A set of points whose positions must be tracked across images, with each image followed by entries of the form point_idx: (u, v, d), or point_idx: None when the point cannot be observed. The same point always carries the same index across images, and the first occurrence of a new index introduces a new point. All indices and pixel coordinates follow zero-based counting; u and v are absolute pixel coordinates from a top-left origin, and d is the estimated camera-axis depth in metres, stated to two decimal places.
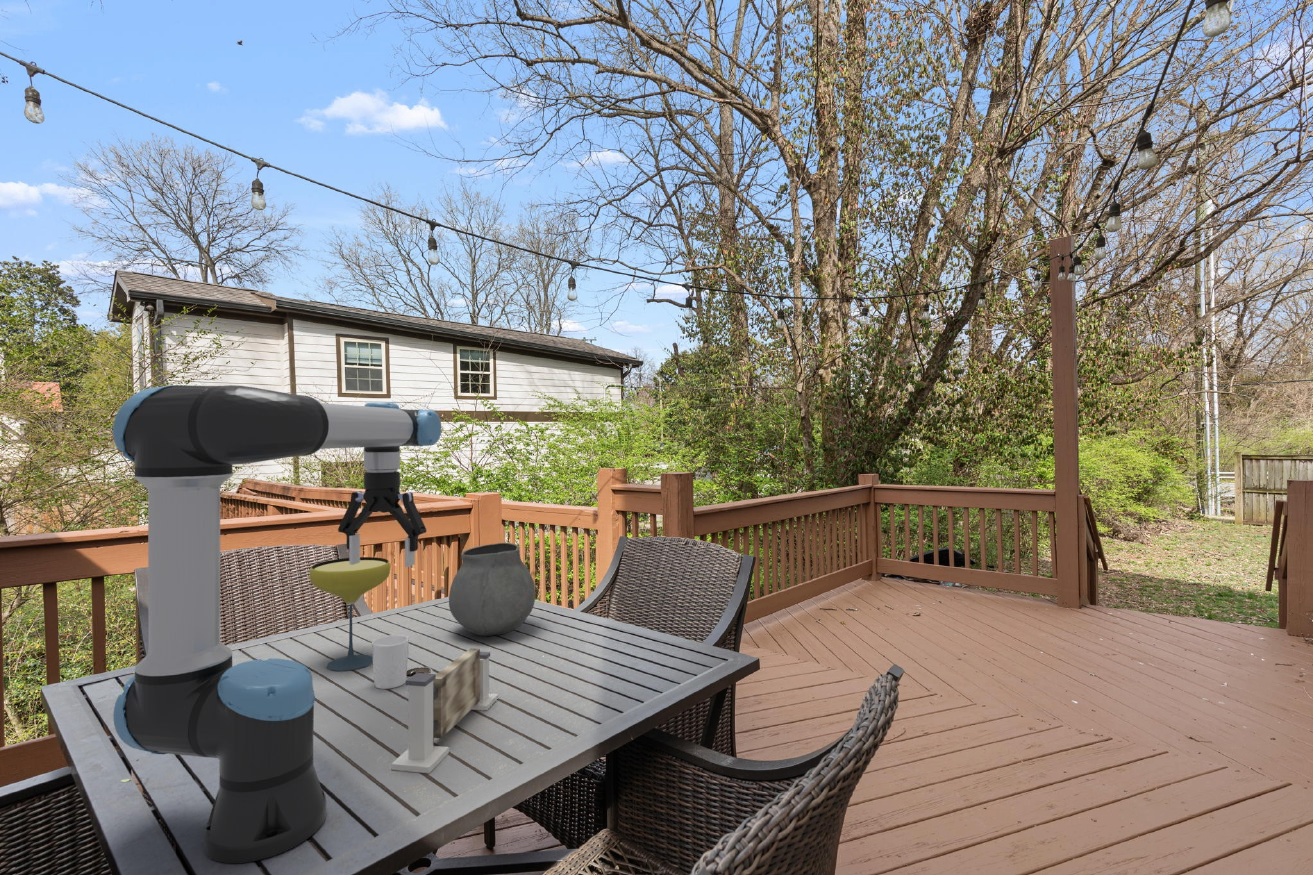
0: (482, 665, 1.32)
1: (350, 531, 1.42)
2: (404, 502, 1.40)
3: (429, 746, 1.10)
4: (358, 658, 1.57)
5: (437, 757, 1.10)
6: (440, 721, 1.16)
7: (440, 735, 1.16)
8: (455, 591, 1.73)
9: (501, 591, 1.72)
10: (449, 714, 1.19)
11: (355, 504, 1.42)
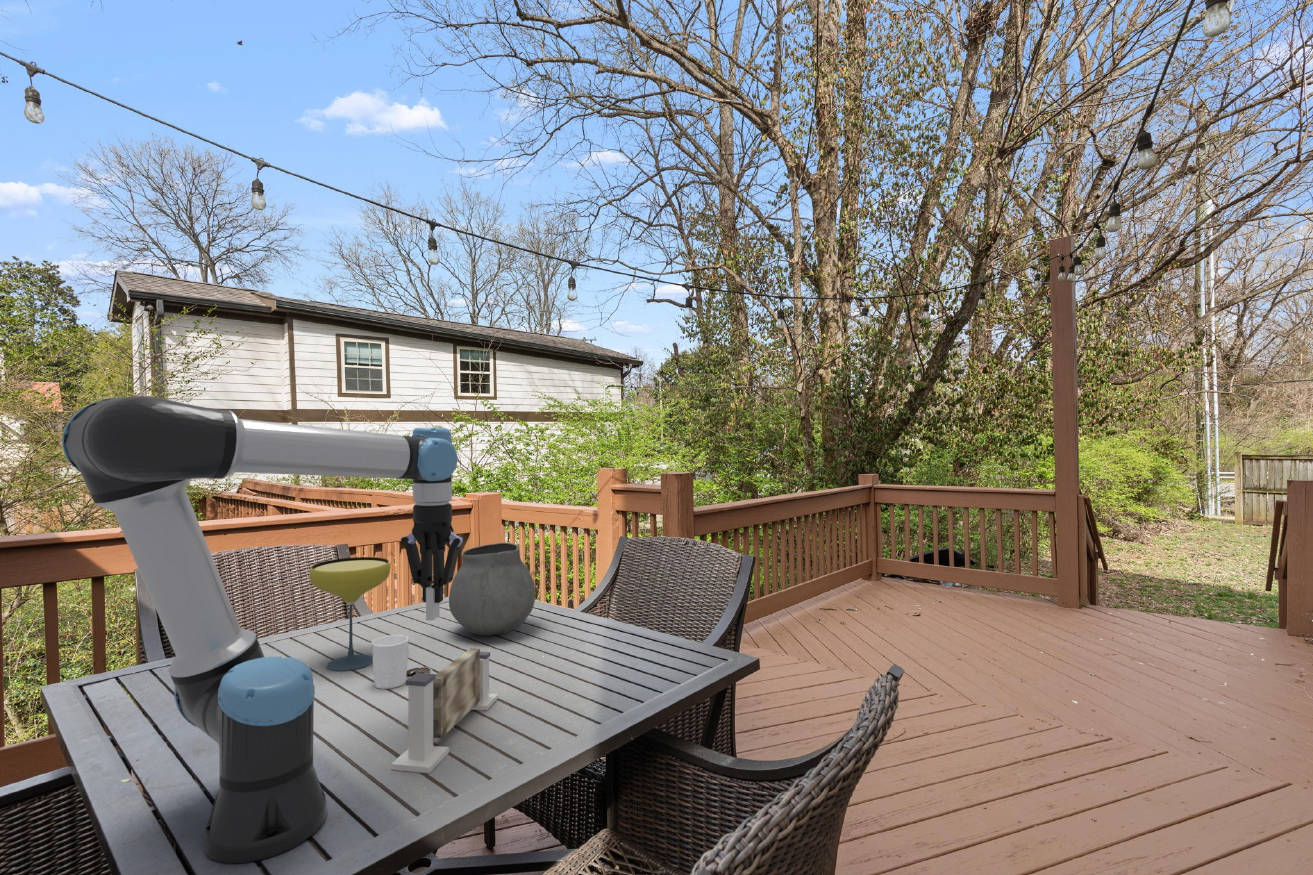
0: (482, 665, 1.32)
1: (425, 581, 1.27)
2: (451, 546, 1.26)
3: (429, 746, 1.10)
4: (358, 658, 1.57)
5: (437, 757, 1.10)
6: (440, 721, 1.16)
7: (440, 735, 1.16)
8: (455, 591, 1.73)
9: (501, 591, 1.72)
10: (449, 714, 1.19)
11: (411, 547, 1.28)
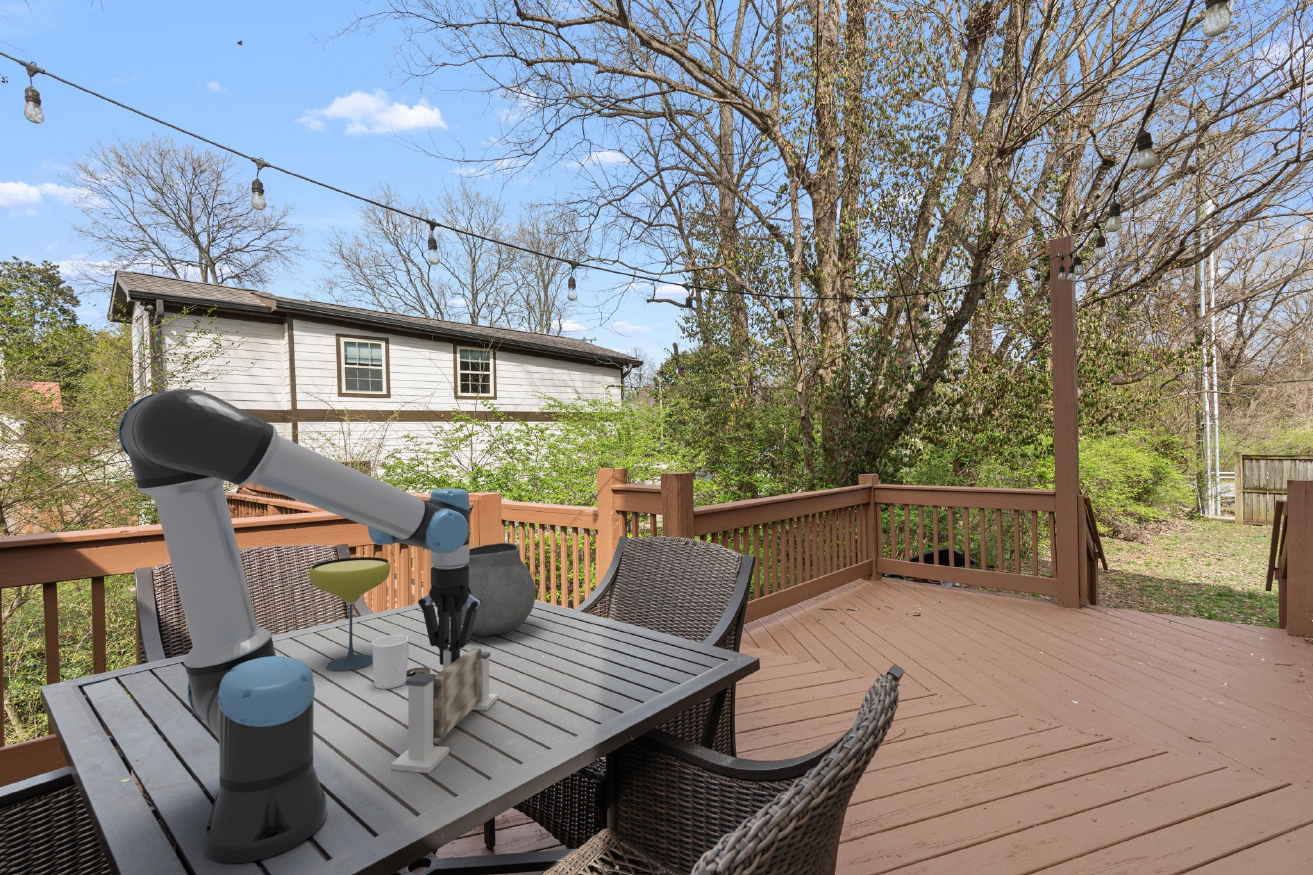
0: (482, 665, 1.32)
1: (442, 643, 1.26)
2: (469, 609, 1.26)
3: (429, 746, 1.10)
4: (358, 658, 1.57)
5: (437, 757, 1.10)
6: (440, 721, 1.16)
7: (440, 735, 1.16)
8: None
9: (501, 591, 1.72)
10: (449, 714, 1.19)
11: (428, 609, 1.27)
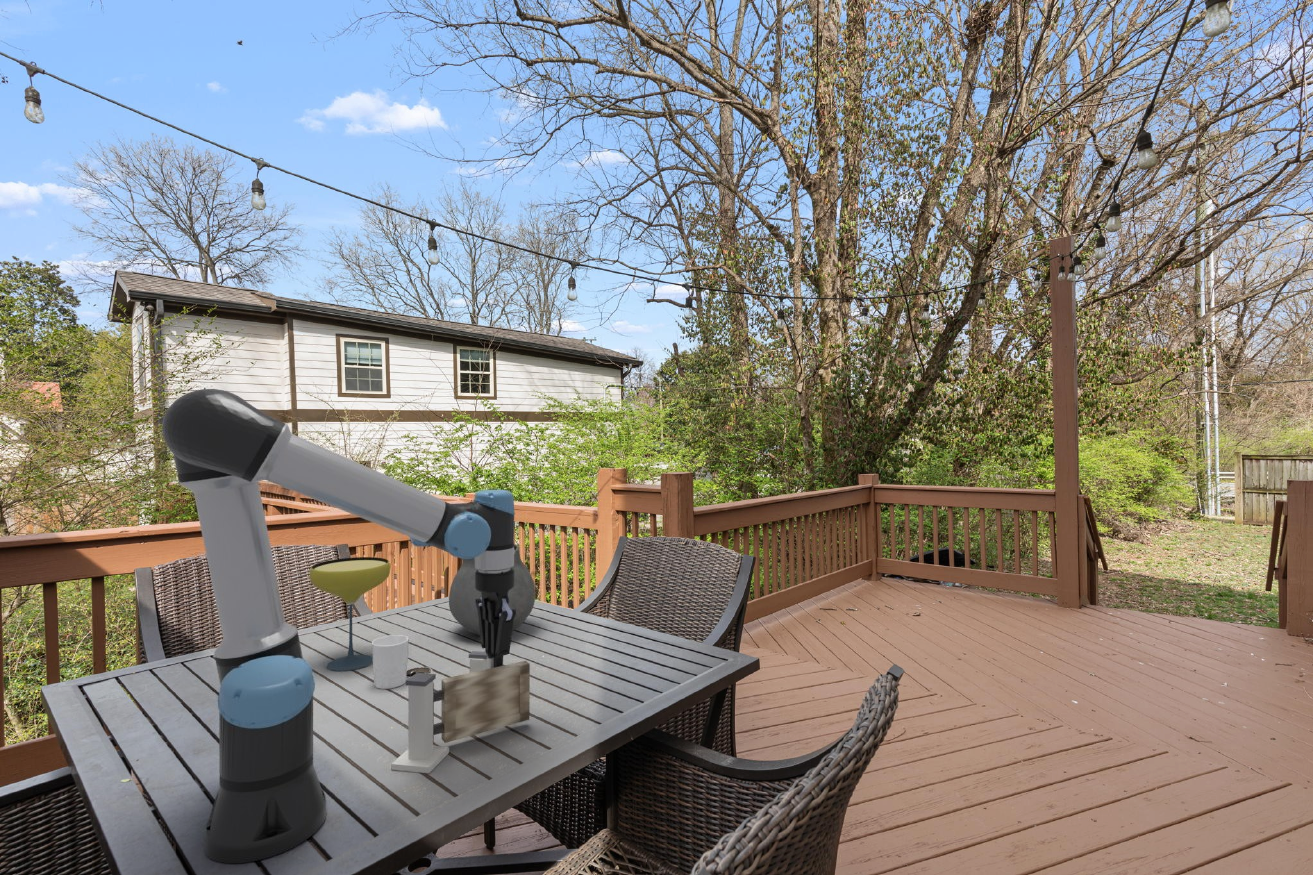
0: (482, 665, 1.32)
1: (487, 648, 1.24)
2: (500, 619, 1.19)
3: (429, 746, 1.10)
4: (358, 658, 1.57)
5: (437, 757, 1.10)
6: (444, 725, 1.14)
7: (444, 739, 1.14)
8: (455, 591, 1.73)
9: None
10: (465, 721, 1.16)
11: (481, 610, 1.26)
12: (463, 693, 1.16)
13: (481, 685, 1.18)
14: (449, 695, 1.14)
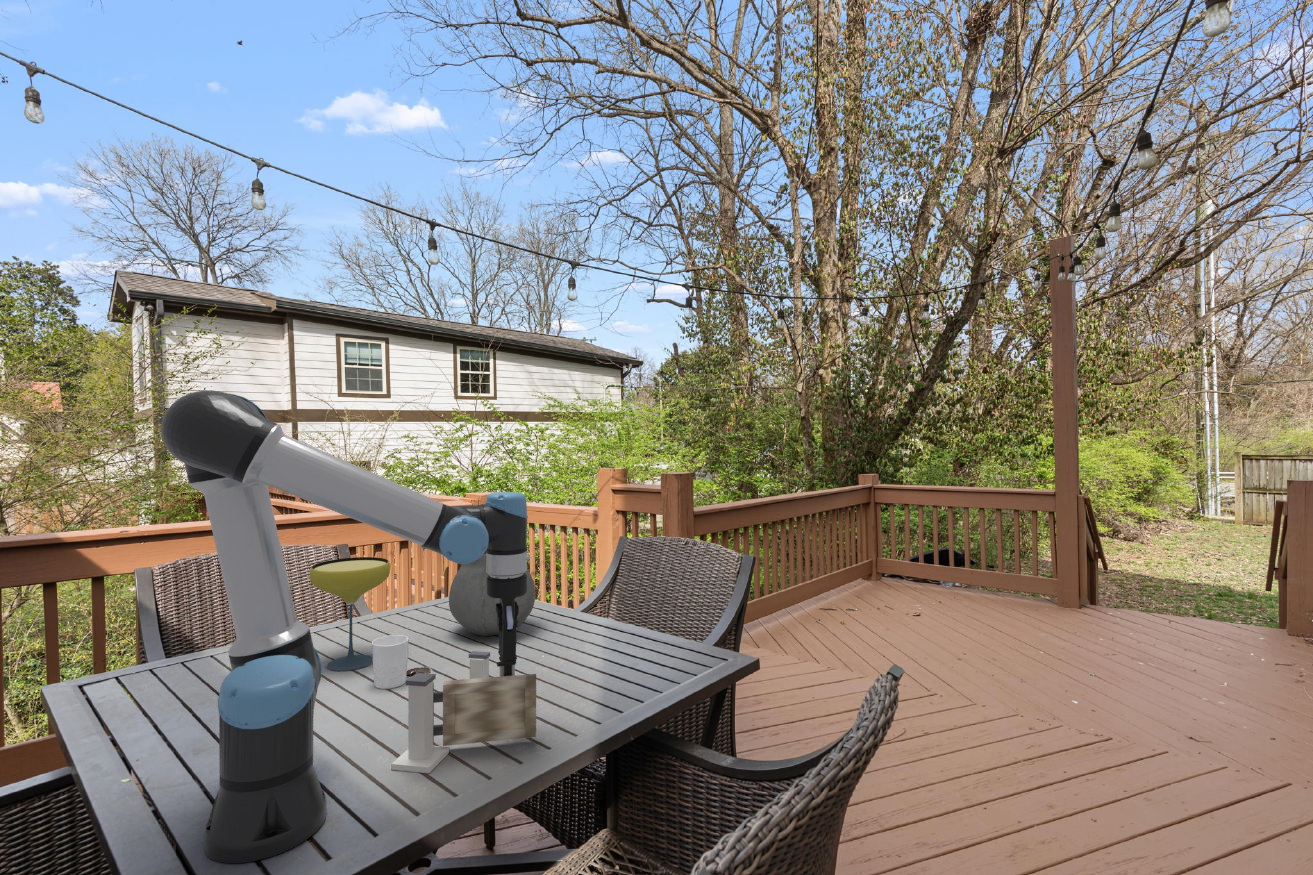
0: (482, 665, 1.32)
1: (500, 655, 1.20)
2: None
3: (429, 746, 1.10)
4: (358, 658, 1.57)
5: (437, 757, 1.10)
6: (443, 728, 1.13)
7: (443, 742, 1.13)
8: (455, 591, 1.73)
9: None
10: (465, 727, 1.14)
11: None
12: (463, 698, 1.14)
13: (483, 693, 1.15)
14: (447, 698, 1.13)
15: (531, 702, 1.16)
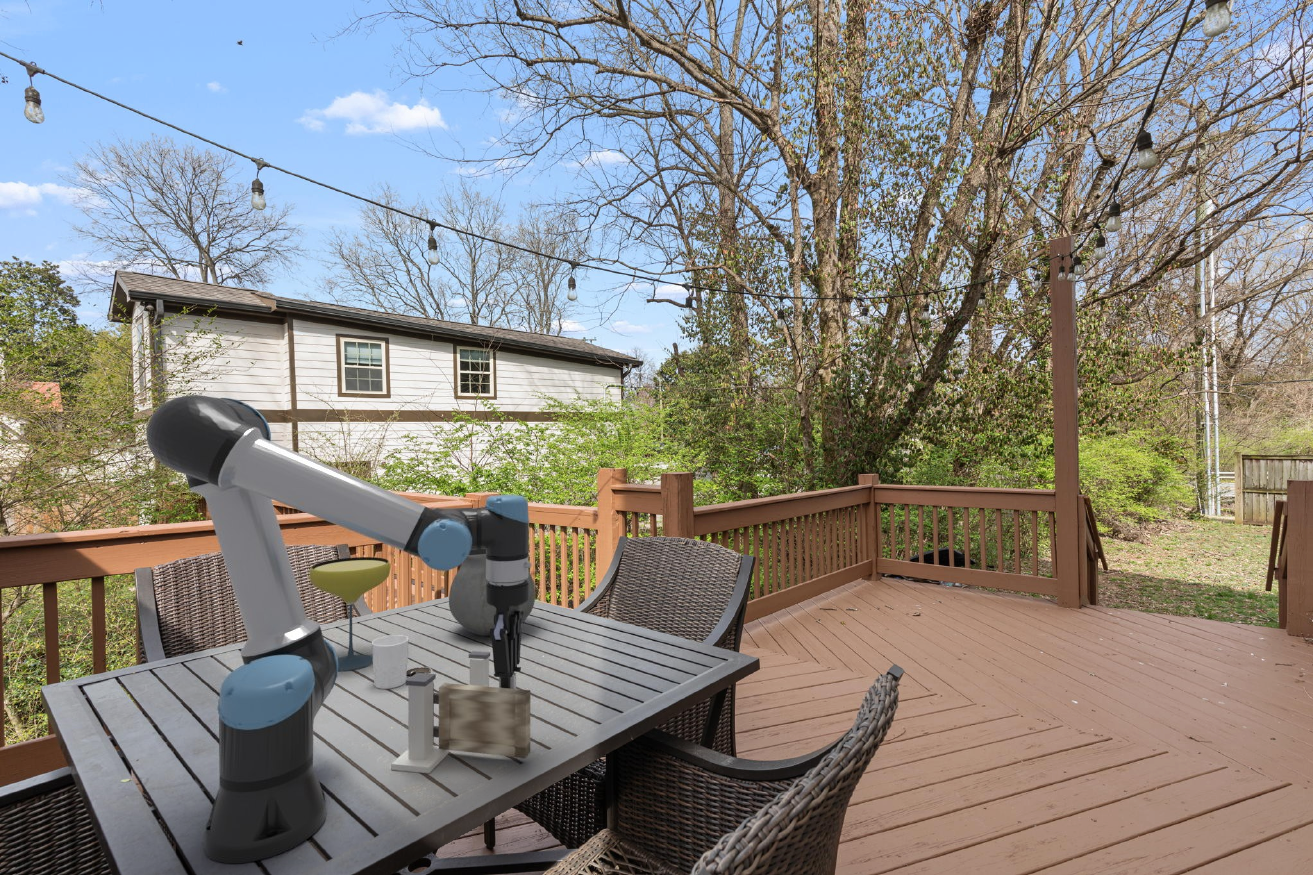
0: (482, 665, 1.32)
1: None
2: None
3: (429, 746, 1.10)
4: (358, 658, 1.57)
5: (437, 757, 1.10)
6: (439, 731, 1.12)
7: (439, 745, 1.12)
8: (455, 591, 1.73)
9: None
10: (460, 734, 1.11)
11: None
12: (458, 704, 1.11)
13: (476, 702, 1.11)
14: (443, 701, 1.11)
15: (521, 720, 1.09)
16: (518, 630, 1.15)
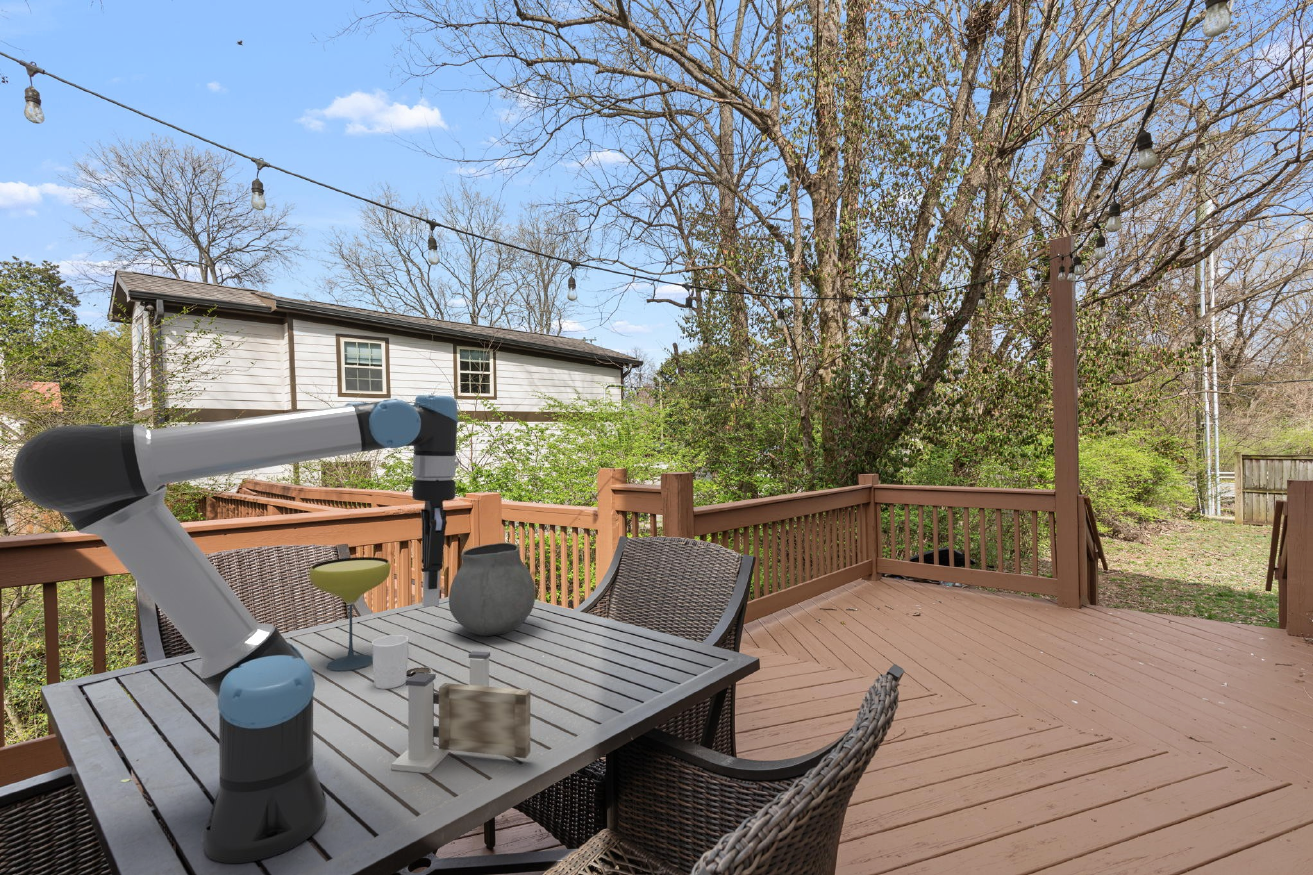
0: (482, 665, 1.32)
1: (424, 562, 1.17)
2: (430, 528, 1.12)
3: (429, 746, 1.10)
4: (358, 658, 1.57)
5: (437, 757, 1.10)
6: (439, 731, 1.12)
7: (439, 745, 1.12)
8: (455, 591, 1.73)
9: (501, 591, 1.72)
10: (460, 734, 1.11)
11: None
12: (458, 704, 1.11)
13: (476, 702, 1.11)
14: (443, 701, 1.11)
15: (521, 720, 1.09)
16: None
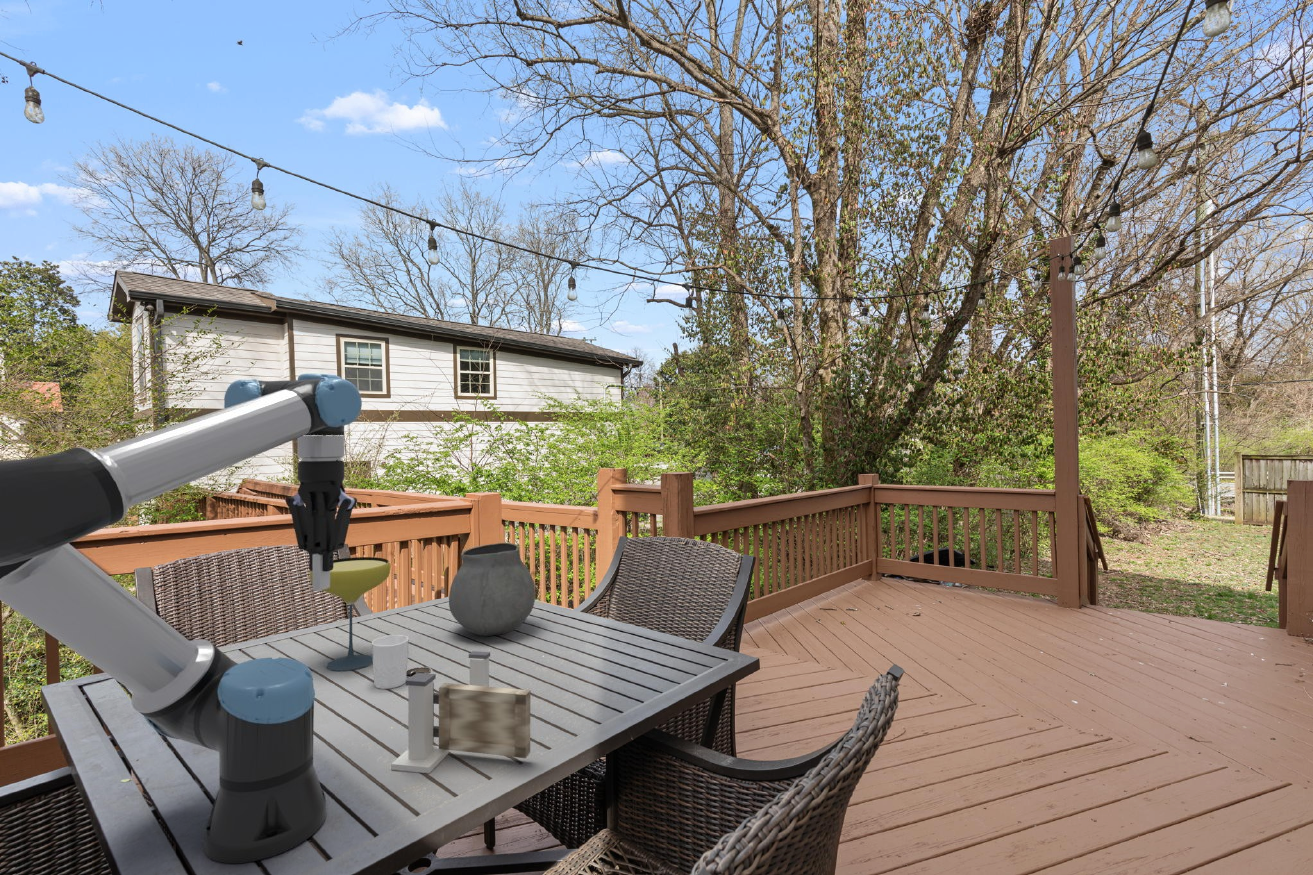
0: (482, 665, 1.32)
1: (312, 546, 1.13)
2: (340, 508, 1.12)
3: (429, 746, 1.10)
4: (358, 658, 1.57)
5: (437, 757, 1.10)
6: (439, 731, 1.12)
7: (439, 745, 1.12)
8: (455, 591, 1.73)
9: (501, 591, 1.72)
10: (460, 734, 1.11)
11: (297, 509, 1.14)
12: (458, 704, 1.11)
13: (476, 702, 1.11)
14: (443, 701, 1.11)
15: (521, 720, 1.09)
16: None
